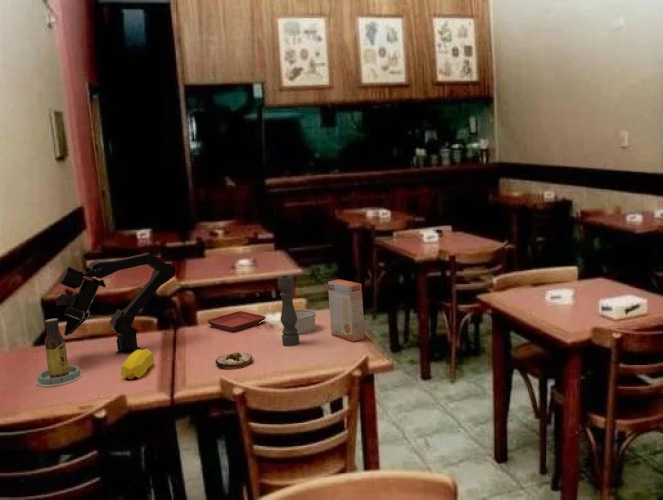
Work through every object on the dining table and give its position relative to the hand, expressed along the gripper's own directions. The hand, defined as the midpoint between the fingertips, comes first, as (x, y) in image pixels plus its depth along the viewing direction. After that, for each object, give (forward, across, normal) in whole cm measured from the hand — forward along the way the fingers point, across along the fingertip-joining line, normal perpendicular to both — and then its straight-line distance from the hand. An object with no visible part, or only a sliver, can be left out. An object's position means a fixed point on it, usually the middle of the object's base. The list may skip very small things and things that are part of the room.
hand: (67, 334), depth 229 cm
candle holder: (-27, +12, +74) cm, 80 cm away
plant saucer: (-25, -24, +57) cm, 67 cm away
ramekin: (-33, -3, +79) cm, 85 cm away
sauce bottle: (+13, +13, +5) cm, 19 cm away
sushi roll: (-13, +24, +56) cm, 63 cm away
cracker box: (-37, +15, +93) cm, 101 cm away
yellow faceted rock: (+2, +18, +28) cm, 33 cm away
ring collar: (+13, +13, +5) cm, 19 cm away
